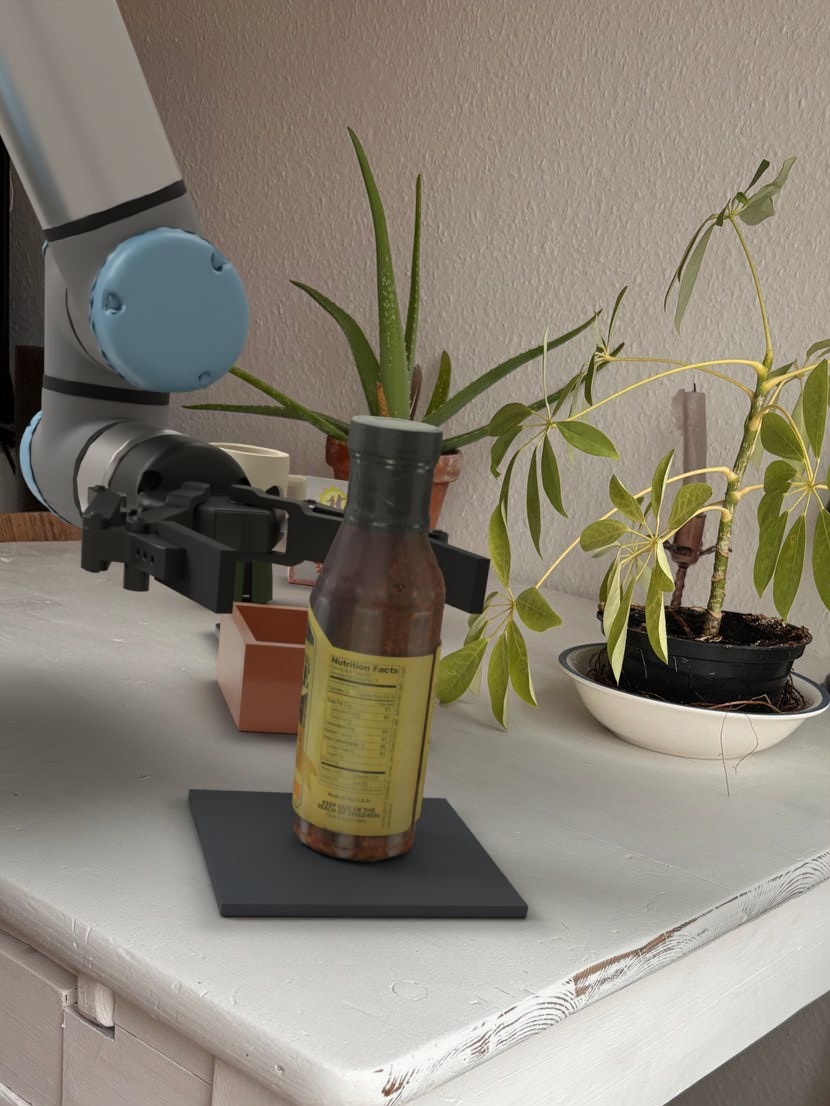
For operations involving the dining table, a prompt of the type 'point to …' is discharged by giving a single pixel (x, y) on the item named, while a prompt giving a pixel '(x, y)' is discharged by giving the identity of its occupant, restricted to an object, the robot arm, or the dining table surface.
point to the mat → (343, 865)
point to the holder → (263, 665)
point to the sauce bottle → (372, 652)
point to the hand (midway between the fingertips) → (363, 585)
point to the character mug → (273, 479)
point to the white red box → (327, 494)
